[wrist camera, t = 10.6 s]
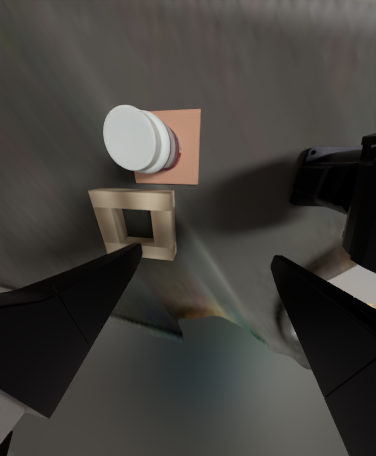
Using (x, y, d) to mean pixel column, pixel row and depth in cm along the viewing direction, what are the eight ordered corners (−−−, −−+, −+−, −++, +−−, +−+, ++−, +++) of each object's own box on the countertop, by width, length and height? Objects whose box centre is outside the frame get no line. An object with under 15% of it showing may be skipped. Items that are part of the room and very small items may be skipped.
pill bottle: (144, 163, 18) (96, 163, 11) (151, 121, 16) (98, 83, 8) (176, 176, 18) (152, 185, 11) (188, 136, 16) (168, 112, 8)
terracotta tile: (200, 110, 15) (200, 108, 15) (198, 183, 19) (197, 184, 18) (127, 114, 16) (124, 112, 16) (138, 182, 20) (136, 182, 19)
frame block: (174, 190, 20) (169, 193, 17) (176, 251, 24) (173, 260, 22) (100, 187, 21) (87, 190, 19) (116, 245, 26) (107, 253, 24)
